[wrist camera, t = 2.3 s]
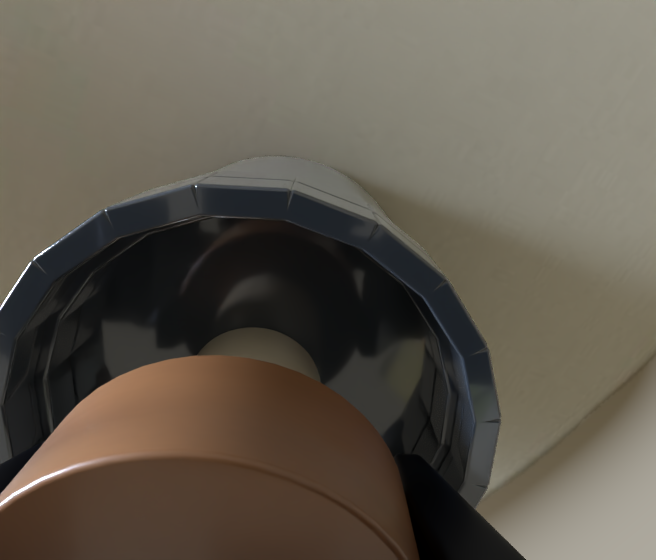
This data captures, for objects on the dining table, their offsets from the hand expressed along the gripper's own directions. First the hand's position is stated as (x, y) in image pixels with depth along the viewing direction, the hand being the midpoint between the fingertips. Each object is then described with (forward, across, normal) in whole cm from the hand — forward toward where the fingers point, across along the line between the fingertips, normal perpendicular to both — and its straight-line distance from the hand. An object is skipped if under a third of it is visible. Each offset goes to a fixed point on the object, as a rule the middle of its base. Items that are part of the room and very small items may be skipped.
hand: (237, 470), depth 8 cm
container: (+10, 0, 0) cm, 10 cm away
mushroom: (+3, 0, 0) cm, 3 cm away
